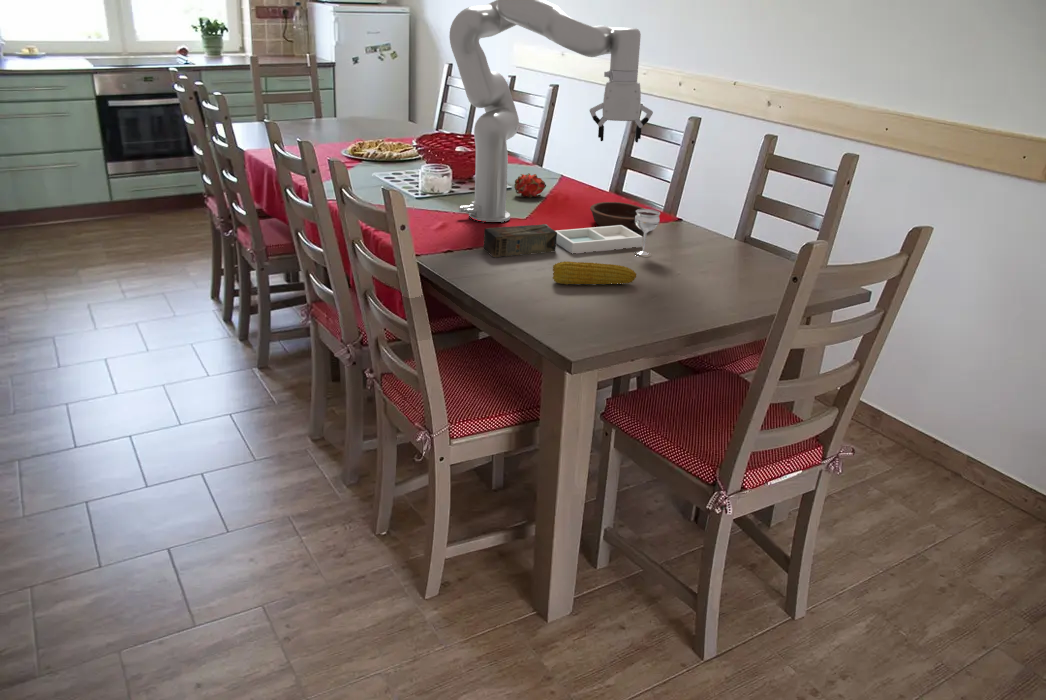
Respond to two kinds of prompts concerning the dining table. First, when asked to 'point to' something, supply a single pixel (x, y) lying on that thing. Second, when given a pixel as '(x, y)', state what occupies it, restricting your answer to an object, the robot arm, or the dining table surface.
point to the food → (591, 273)
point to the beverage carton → (519, 240)
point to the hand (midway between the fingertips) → (619, 141)
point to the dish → (615, 214)
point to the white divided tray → (598, 239)
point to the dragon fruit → (529, 185)
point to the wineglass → (646, 223)
